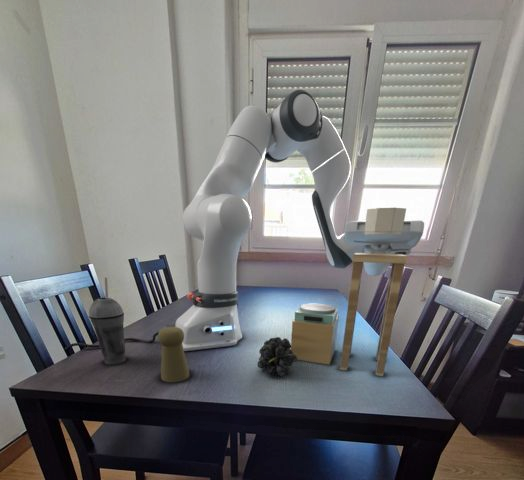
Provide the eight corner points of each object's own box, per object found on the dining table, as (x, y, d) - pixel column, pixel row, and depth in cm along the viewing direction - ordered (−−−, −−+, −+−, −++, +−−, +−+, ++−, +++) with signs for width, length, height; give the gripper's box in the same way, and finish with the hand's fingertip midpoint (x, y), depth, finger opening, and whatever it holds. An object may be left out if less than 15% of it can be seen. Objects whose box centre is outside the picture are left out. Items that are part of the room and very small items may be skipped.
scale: (329, 364, 69) (335, 313, 65) (290, 358, 73) (293, 309, 68) (334, 351, 78) (340, 304, 73) (299, 346, 81) (302, 301, 77)
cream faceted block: (402, 234, 59) (407, 207, 57) (363, 234, 61) (366, 208, 59) (396, 236, 75) (400, 215, 73) (366, 236, 78) (368, 215, 76)
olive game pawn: (155, 379, 60) (148, 330, 56) (171, 368, 66) (166, 323, 62) (179, 384, 59) (174, 333, 55) (194, 372, 64) (190, 325, 60)
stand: (384, 376, 63) (407, 255, 54) (338, 369, 67) (353, 254, 57) (383, 358, 74) (402, 253, 64) (343, 353, 77) (356, 252, 68)
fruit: (268, 321, 71) (265, 339, 57) (299, 332, 72) (303, 353, 58) (257, 351, 74) (251, 375, 60) (286, 362, 75) (287, 388, 61)
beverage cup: (94, 360, 69) (76, 277, 62) (124, 353, 74) (110, 275, 67) (105, 369, 65) (87, 280, 57) (136, 360, 70) (123, 278, 62)
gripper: (345, 234, 88) (344, 205, 75) (418, 234, 82) (430, 202, 69) (342, 252, 87) (340, 226, 75) (415, 254, 81) (427, 226, 68)
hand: (384, 215), depth 72 cm, fingers closed on cream faceted block
